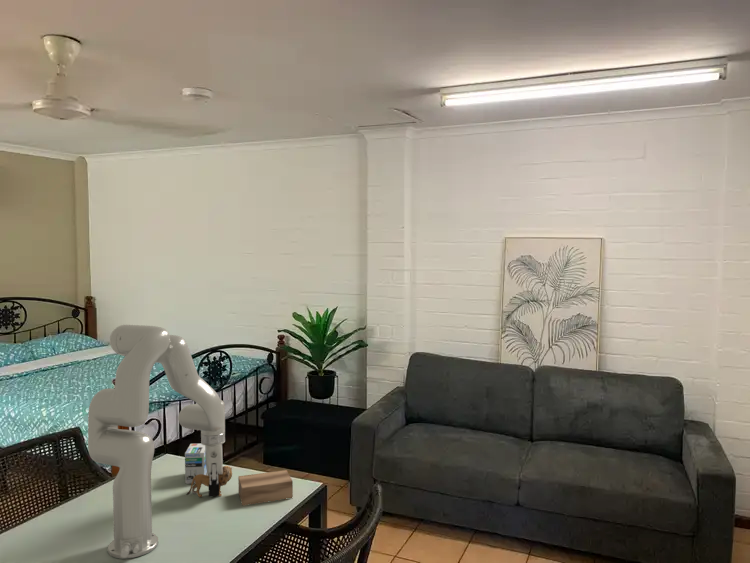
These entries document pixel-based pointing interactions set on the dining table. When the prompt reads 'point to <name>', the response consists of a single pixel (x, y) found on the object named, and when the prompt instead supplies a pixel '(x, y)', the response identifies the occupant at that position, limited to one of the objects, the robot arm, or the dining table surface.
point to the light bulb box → (194, 462)
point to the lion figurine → (205, 480)
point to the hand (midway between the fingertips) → (213, 492)
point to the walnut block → (265, 487)
